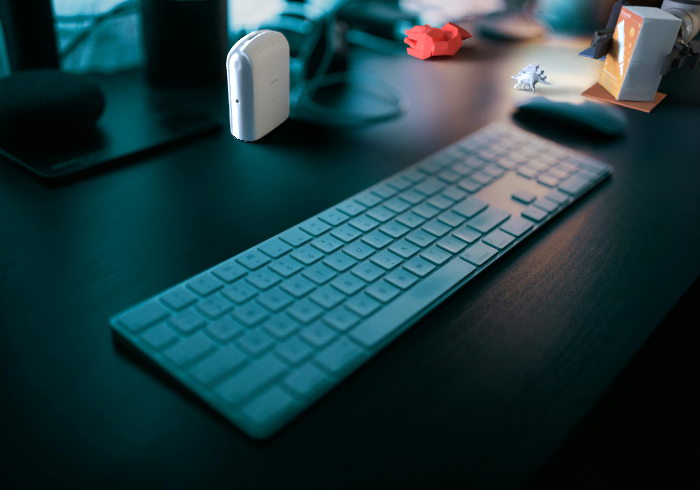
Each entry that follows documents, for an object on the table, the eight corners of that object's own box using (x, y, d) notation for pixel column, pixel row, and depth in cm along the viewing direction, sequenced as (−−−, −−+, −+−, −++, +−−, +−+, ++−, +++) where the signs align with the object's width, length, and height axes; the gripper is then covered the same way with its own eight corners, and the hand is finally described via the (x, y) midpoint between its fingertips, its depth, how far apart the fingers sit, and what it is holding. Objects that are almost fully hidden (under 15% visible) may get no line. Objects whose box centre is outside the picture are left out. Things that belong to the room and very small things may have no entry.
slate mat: (662, 50, 126) (663, 49, 125) (638, 68, 113) (639, 67, 112) (606, 38, 131) (607, 37, 131) (578, 54, 118) (578, 53, 118)
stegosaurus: (548, 97, 95) (556, 69, 92) (507, 88, 98) (513, 60, 95) (552, 93, 97) (559, 65, 94) (511, 84, 100) (517, 57, 97)
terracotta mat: (665, 96, 100) (666, 94, 99) (649, 112, 92) (649, 110, 92) (601, 80, 105) (602, 78, 105) (581, 94, 97) (581, 93, 97)
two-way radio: (601, 49, 122) (624, -29, 113) (623, 53, 120) (649, -26, 112) (596, 55, 118) (620, -26, 109) (619, 59, 116) (645, -22, 108)
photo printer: (255, 145, 73) (252, 45, 66) (226, 138, 74) (220, 38, 67) (293, 118, 81) (294, 26, 74) (266, 112, 82) (265, 21, 75)
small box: (597, 83, 101) (621, 4, 94) (632, 85, 102) (659, 7, 95) (616, 100, 95) (644, 17, 87) (653, 102, 95) (684, 19, 88)
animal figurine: (478, 49, 117) (482, 23, 114) (445, 66, 106) (450, 37, 103) (426, 38, 122) (430, 12, 119) (390, 53, 111) (393, 25, 108)
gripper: (722, 69, 104) (697, 100, 88) (597, 41, 114) (556, 65, 99) (741, 25, 99) (717, 50, 84) (609, 1, 110) (568, 19, 95)
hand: (630, 58), depth 92 cm, fingers closed on small box, 10 cm apart
